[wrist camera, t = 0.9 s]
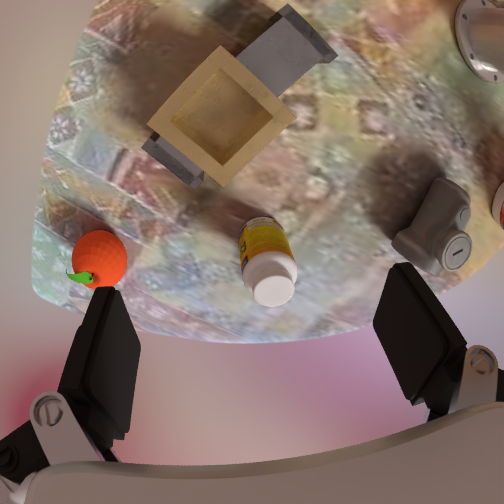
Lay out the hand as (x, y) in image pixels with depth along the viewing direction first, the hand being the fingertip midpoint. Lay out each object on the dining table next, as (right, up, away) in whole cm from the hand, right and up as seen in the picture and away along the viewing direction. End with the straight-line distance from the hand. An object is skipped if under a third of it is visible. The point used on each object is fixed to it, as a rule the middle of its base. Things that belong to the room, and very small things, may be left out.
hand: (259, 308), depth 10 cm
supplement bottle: (+1, +4, +27) cm, 27 cm away
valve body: (-2, +18, +17) cm, 25 cm away
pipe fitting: (+23, +8, +27) cm, 37 cm away
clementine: (-19, +3, +25) cm, 32 cm away
